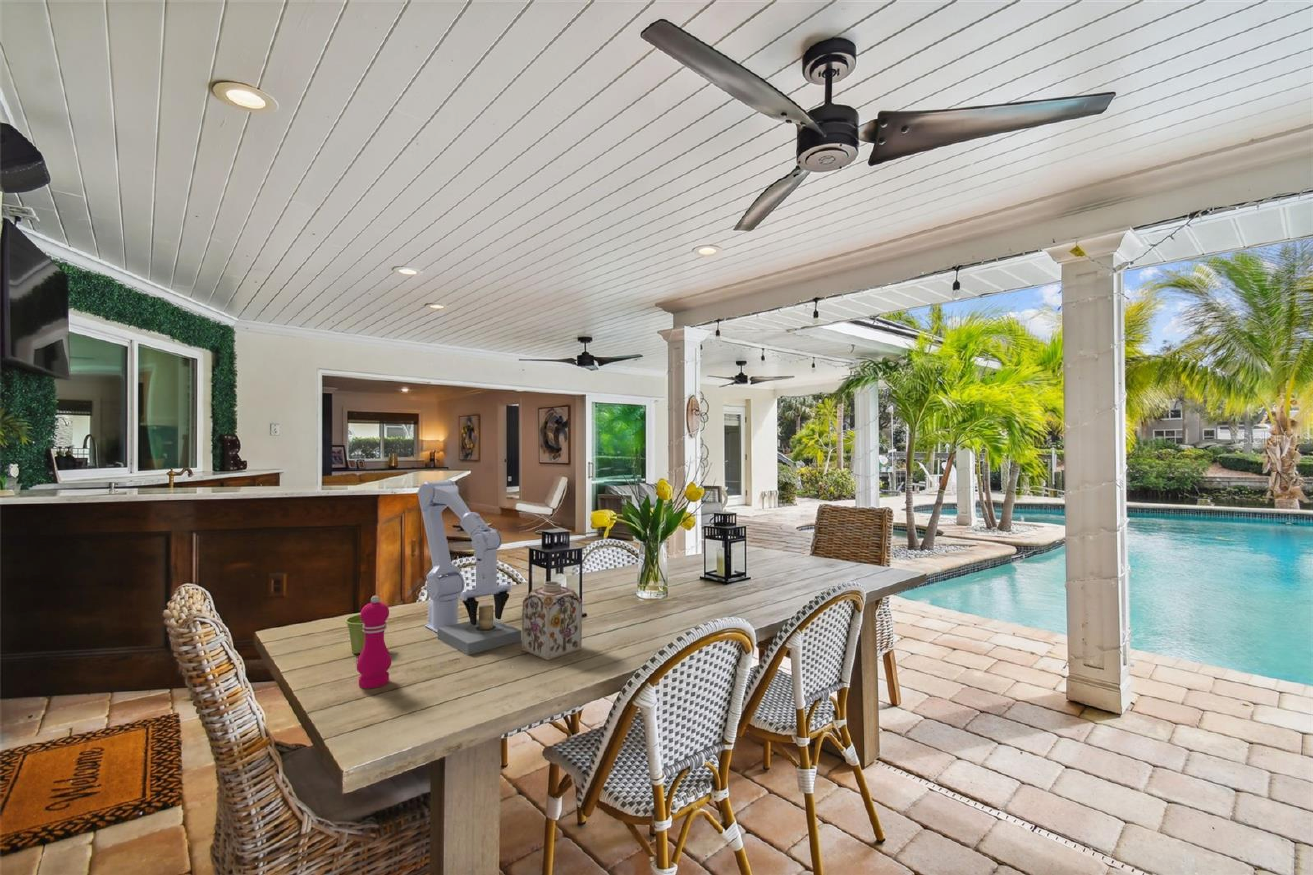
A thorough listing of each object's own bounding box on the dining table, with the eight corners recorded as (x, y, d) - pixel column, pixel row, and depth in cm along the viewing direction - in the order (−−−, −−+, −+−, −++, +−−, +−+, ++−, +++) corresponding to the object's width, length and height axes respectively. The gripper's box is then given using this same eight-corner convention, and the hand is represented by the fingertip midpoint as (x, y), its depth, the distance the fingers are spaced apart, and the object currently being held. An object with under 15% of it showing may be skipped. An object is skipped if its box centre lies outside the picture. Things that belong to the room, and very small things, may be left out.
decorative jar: (520, 650, 157) (521, 582, 158) (555, 640, 166) (556, 576, 166) (547, 661, 149) (548, 590, 150) (583, 650, 158) (583, 582, 158)
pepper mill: (356, 692, 130) (357, 601, 131) (356, 680, 137) (357, 593, 137) (392, 686, 134) (393, 597, 134) (390, 674, 140) (391, 590, 140)
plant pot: (390, 650, 157) (390, 617, 157) (353, 659, 150) (353, 625, 150) (376, 642, 163) (376, 610, 163) (339, 650, 156) (340, 618, 156)
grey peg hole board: (437, 638, 166) (437, 628, 166) (489, 626, 178) (489, 616, 178) (467, 655, 154) (467, 643, 154) (521, 641, 165) (521, 630, 165)
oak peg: (475, 638, 167) (476, 606, 167) (489, 635, 170) (489, 603, 170) (482, 641, 164) (482, 609, 164) (496, 638, 167) (496, 606, 167)
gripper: (469, 579, 159) (468, 630, 159) (516, 571, 169) (515, 619, 169) (457, 575, 164) (456, 624, 164) (503, 568, 174) (503, 614, 174)
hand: (485, 621), depth 167 cm, fingers open, 7 cm apart
